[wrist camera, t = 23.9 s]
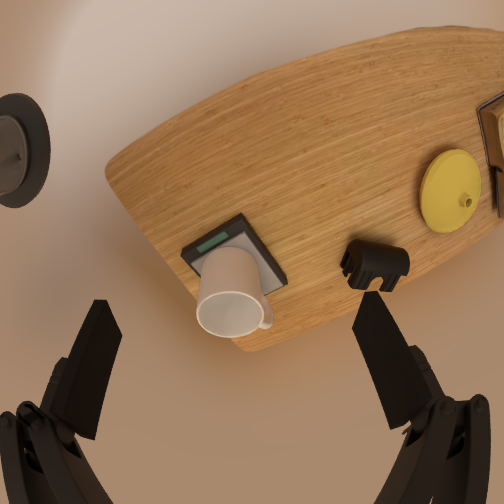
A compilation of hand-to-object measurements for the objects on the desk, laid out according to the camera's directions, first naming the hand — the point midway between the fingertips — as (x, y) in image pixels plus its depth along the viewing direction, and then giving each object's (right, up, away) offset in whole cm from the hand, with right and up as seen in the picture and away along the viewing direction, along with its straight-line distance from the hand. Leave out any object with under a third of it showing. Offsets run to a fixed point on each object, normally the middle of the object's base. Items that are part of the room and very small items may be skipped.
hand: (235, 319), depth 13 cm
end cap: (+21, +3, +32) cm, 38 cm away
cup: (-1, 0, +29) cm, 29 cm away
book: (+54, +25, +20) cm, 63 cm away
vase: (+35, +15, +25) cm, 46 cm away
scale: (-2, +1, +31) cm, 31 cm away
